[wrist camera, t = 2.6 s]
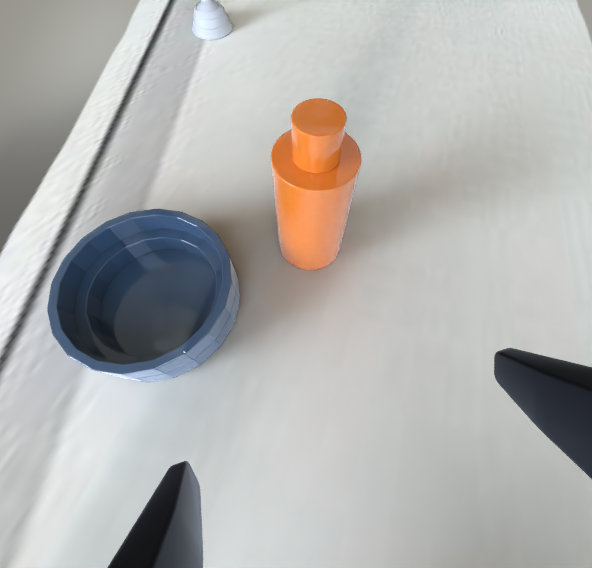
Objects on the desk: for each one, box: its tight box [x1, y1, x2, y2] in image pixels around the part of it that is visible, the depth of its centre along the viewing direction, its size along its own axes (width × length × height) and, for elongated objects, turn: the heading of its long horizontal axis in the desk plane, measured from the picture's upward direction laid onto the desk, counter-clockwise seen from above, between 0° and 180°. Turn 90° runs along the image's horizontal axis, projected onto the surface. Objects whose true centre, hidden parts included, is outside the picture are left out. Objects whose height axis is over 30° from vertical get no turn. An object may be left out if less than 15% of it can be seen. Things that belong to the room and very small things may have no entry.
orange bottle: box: [271, 98, 361, 270], centre depth 21 cm, size 5×5×12 cm
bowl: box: [47, 209, 240, 382], centre depth 23 cm, size 12×12×4 cm
